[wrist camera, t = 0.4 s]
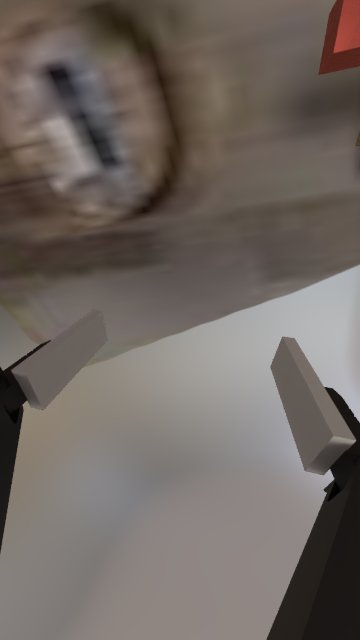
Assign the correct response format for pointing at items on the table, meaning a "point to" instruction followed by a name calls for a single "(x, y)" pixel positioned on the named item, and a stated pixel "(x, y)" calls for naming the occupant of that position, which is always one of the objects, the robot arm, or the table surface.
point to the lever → (342, 37)
